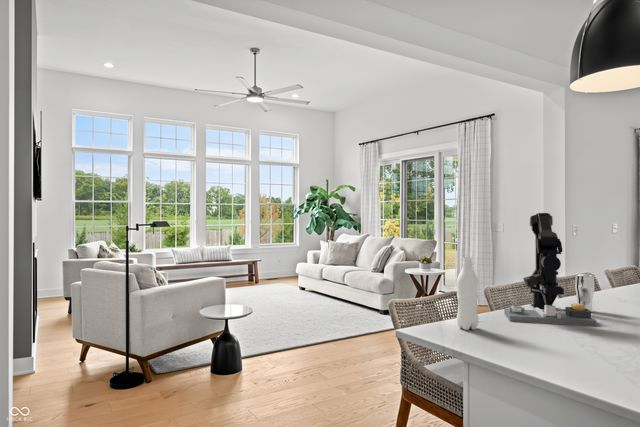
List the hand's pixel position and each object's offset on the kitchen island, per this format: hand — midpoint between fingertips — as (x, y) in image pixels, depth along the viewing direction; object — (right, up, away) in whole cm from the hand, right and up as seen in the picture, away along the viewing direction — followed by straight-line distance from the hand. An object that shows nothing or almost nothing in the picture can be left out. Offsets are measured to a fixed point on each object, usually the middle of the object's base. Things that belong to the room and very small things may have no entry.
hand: (548, 309), depth 166 cm
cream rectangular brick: (0, -2, -2) cm, 3 cm away
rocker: (-10, -1, +4) cm, 11 cm away
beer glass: (+24, -4, +16) cm, 29 cm away
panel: (0, -4, +1) cm, 4 cm away
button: (+11, 0, -2) cm, 11 cm away
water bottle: (-35, -4, -12) cm, 37 cm away
